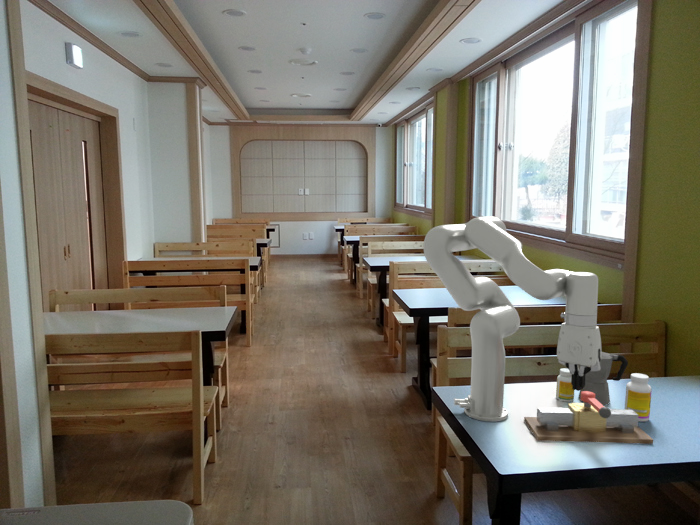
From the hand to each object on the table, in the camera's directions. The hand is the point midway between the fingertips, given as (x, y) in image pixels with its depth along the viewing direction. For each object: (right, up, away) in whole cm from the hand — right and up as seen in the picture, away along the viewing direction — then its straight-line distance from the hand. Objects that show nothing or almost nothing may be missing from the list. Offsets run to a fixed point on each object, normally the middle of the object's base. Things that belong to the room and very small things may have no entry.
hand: (578, 388), depth 144 cm
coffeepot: (+19, -11, +31) cm, 38 cm away
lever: (+5, -7, +1) cm, 9 cm away
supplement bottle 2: (+25, -13, +18) cm, 33 cm away
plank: (+5, -14, +8) cm, 16 cm away
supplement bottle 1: (+9, -11, +32) cm, 35 cm away
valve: (+5, -14, +8) cm, 16 cm away
